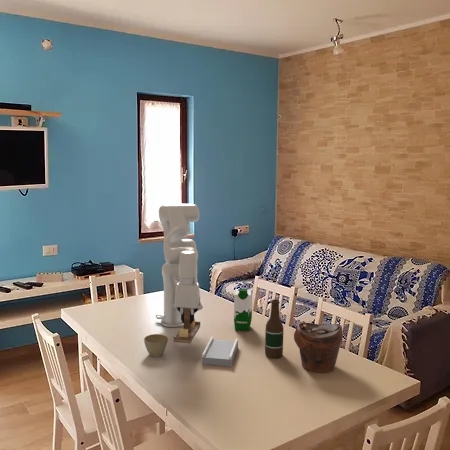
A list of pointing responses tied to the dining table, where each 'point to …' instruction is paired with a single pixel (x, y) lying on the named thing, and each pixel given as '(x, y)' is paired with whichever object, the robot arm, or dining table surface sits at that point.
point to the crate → (183, 333)
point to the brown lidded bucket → (318, 345)
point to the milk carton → (242, 310)
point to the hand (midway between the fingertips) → (187, 322)
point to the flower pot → (156, 344)
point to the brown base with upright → (187, 325)
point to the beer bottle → (274, 333)
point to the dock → (220, 352)
